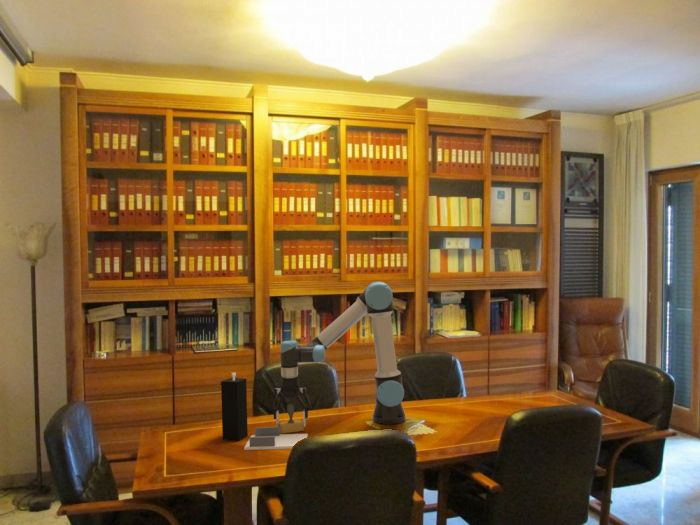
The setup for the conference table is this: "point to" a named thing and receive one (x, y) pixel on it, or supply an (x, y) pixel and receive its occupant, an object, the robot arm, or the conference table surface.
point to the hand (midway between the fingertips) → (291, 426)
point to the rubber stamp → (291, 423)
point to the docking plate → (272, 439)
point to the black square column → (234, 408)
